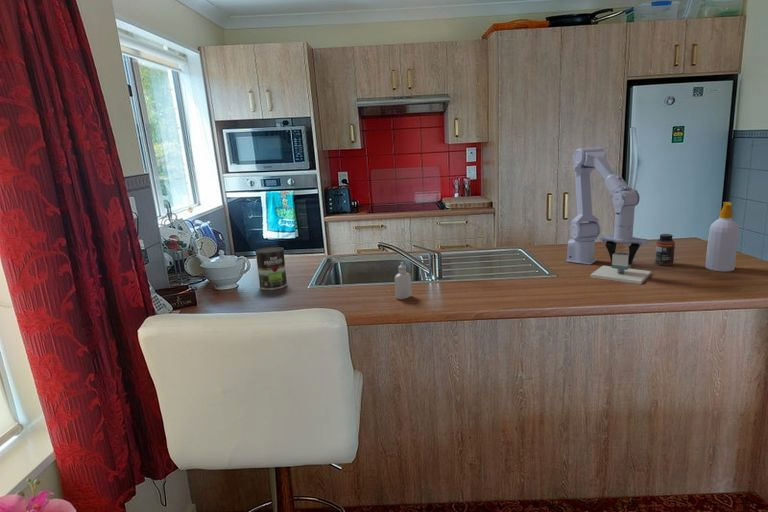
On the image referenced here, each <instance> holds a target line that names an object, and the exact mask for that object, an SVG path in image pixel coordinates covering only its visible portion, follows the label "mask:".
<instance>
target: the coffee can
mask: <svg viewBox="0 0 768 512" xmlns="http://www.w3.org/2000/svg"><path fill="white" fill-rule="evenodd" d="M284 252H285V251H284V247H280V246H268V247H263V248H258V249H256V250H255V257H256V265H257V266H256V267H257V273H258V274H257V275H258V276H257V277H258V283H259V284H258V285H259V289H260V290H263V291H273V290H279V289H283V288H285V287H287V286H288V282H287V281H288V280H287V272H286V271H287V269H286V261H285V253H284Z"/></svg>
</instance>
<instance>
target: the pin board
mask: <svg viewBox="0 0 768 512" xmlns="http://www.w3.org/2000/svg"><path fill="white" fill-rule="evenodd" d="M651 274H652V272H651V271H650V270H644V269H636V268H635V269H634V268H629V269H628V270H623V269H615V268H612V265H611V266H610V265H609V266H608V265H601V266H600V267H599V268H598V269H596V270H595V271H593V272H591V274H590V278H592V279H593V278H594V279H601V280H607V281H613V282H614V281H616V282H621V283H629V284H637V285H642V283H644V282H645V281H646V280H647V279H648V277H650V275H651Z"/></svg>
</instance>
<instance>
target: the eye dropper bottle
mask: <svg viewBox="0 0 768 512" xmlns="http://www.w3.org/2000/svg"><path fill="white" fill-rule="evenodd" d="M394 293H395V299H398V300H405V299H408V298H411V297H412V277H411V274H410V272H407V266H406V265H404V262H403V261H401V262H400V265H399V266H398V273H397V274H395V276H394Z"/></svg>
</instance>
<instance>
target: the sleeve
mask: <svg viewBox="0 0 768 512" xmlns="http://www.w3.org/2000/svg"><path fill="white" fill-rule="evenodd" d="M628 261H629V252H626V251H615V253H614V254H613V255H612V263H611V266H612V268H615V269H623V270H628V269H631V268H632V264H631V265H628Z"/></svg>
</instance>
